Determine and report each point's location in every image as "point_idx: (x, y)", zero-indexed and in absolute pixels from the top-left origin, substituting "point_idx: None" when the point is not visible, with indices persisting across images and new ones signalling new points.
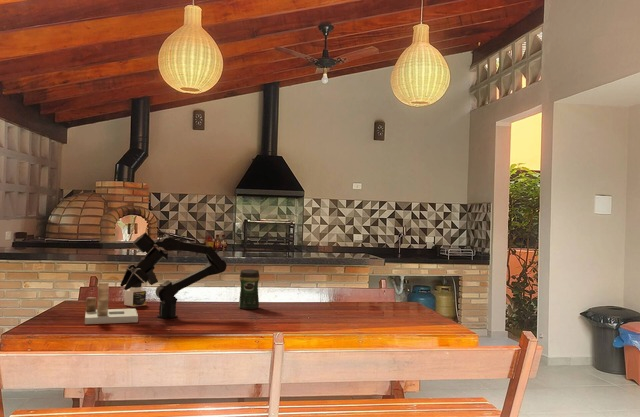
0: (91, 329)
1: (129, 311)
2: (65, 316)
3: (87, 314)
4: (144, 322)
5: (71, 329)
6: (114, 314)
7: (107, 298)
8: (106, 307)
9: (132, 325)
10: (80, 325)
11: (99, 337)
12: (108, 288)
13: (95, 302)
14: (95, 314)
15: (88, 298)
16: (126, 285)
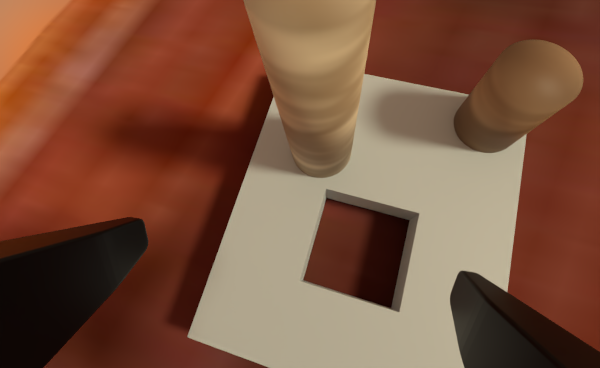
0: (172, 80)
1: (373, 346)
2: None
3: (377, 86)
4: (175, 364)
5: (217, 18)
6: (309, 216)
7: (284, 118)
8: (289, 143)
9: (142, 268)
10: None
11: (24, 75)
12: (281, 70)
13: (493, 116)
14: (358, 121)
15: (514, 50)
16: (68, 232)
